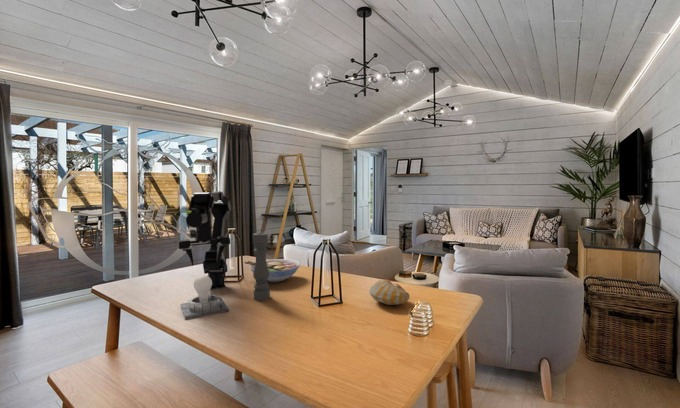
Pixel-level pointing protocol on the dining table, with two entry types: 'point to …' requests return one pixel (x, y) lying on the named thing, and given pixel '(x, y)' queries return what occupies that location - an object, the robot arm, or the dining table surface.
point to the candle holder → (261, 267)
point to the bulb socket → (203, 307)
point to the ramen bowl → (278, 269)
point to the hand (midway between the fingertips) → (205, 263)
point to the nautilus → (388, 293)
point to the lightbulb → (203, 287)
